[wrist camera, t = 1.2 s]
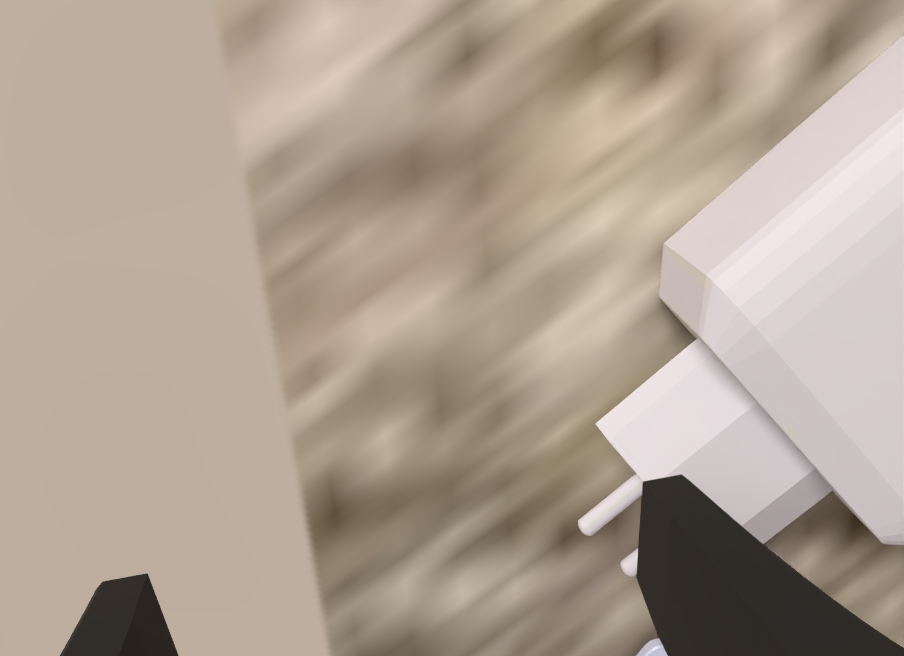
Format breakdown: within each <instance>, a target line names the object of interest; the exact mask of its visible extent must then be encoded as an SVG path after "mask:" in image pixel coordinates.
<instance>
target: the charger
mask: <svg viewBox="0 0 904 656" xmlns="http://www.w3.org/2000/svg"><path fill="white" fill-rule="evenodd" d="M659 297H660V299H661V300H662V301H663V302H664V303H665V304H666V306H667V307H668V308H669V309H670V310H671V311H672V312H673V314H674V315H675V316H676V317H677V318H678V319H679V320H680V321H681V323H682V324H683V325H684V326H685V327H686V328H687V329H688V331H689V332H690V333H691V334H692V335H693V336H694V337H695V338H696V340H695V341H694V342H692V343H691V344H690V345H689V346H688V347H686V348H685V349H684V350H683V351H682V352H680V353H679V354H678V355H677V356H676V357H674V358H673V359H672V360H671V361H670V362H668V363H667V364H666V365H665V366H664V367H662V368H661V369H660V370H659V371H658V372H657V373H655V374H654V375H653V376H652V377H651V378H649V379H648V380H647V381H646V382H645V383H643V384H642V385H641V386H640V387H639V388H637V389H636V390H635V391H634V392H633V393H631V394H630V395H629V396H628V397H627V398H625V399H624V400H623V401H622V402H621V403H620V404H618V405H617V406H616V407H615V408H614V409H612V410H611V411H610V412H609V413H608V414H606V415H605V416H604V417H603V418H602V419H600V420H599V421H598V422H597V423H596V425H597V426H598V428H599V429H600V430H601V432H602V433H603V434H604V436H605V437H606V438H607V439H608V441H609V442H610V443H611V444H612V445H613V447H614V448H615V449H616V450H617V451H618V452H619V454H620V455H621V456H622V457H623V458H624V459H625V461H626V462H627V463H628V464H629V465H630V466H631V468H632V469H633V470H634V471H635V472H636V474H635V475H633V476H632V477H631V478H630V479H628V480H627V481H626V482H625V483H624V484H622V485H621V486H620V487H619V488H617V489H616V490H615V491H614V492H612V493H611V494H610V495H609V496H608V497H606V498H605V499H604V500H603V501H601V502H600V503H599V504H598V505H597V506H595V507H594V508H593V509H592V510H590V511H589V512H588V513H587V514H586V515H584V516H583V517H582V518H581V519H579V520H578V526H579V528H580V530H581V531H582V533H583V534H585V535H588V536H592V535H593V534H594V533H596V532H597V531H598V530H599V529H601V528H602V527H603V526H604V525H606V524H607V523H608V522H609V521H611V520H612V519H613V518H614V517H615V516H617V515H618V514H619V513H620V512H622V511H623V510H624V509H625V508H627V507H628V506H629V505H630V504H632V503H633V502H634V501H635V500H637V499H638V498H639V497H640V496H641V495H642V485H643V481H649V480H654V479H659V478H665V477H670V476H676V475H681V474H682V475H683V476H685V477H686V478H687V479H688V480H690V481H691V482H692V483H693V484H694V485H695V486H696V487H698V488H699V489H700V490H701V491H702V492H703V493H704V494H706V495H707V496H708V497H709V498H710V499H711V500H712V501H714V502H715V503H716V504H717V505H718V506H719V507H720V508H722V509H723V510H724V511H725V512H726V513H727V514H728V515H730V516H731V517H732V518H733V519H734V520H735V521H737V522H738V523H739V524H740V525H741V526H742V527H744V528H745V529H746V530H747V531H748V532H749V533H751V534H752V535H753V536H754V537H755V538H756V539H758V540H759V541H760V542H761V543H762V544H764V543H765V542H767V541H768V540H769V539H771V538H772V537H773V536H774V535H776V534H777V533H778V532H780V531H781V530H782V529H784V528H785V527H786V526H787V525H789V524H790V523H791V522H793V521H794V520H795V519H796V518H798V517H799V516H800V515H802V514H803V513H804V512H806V511H807V510H808V509H809V508H811V507H812V506H813V505H815V504H816V503H817V502H819V501H820V500H821V499H822V498H824V497H825V496H826V495H828V494H829V493H830V492H833V493H834V494H835V495H836V496H837V497H838V498H839V499H840V500H841V501H842V502H843V503H844V504H845V505H846V506H847V507H848V508H849V509H850V510H851V511H852V513H853V514H854V515H855V516H856V517H857V518H858V519H859V520H860V521H861V522H862V523H863V524H864V525H865V526H866V527H867V528H868V529H869V530H870V531H871V532H872V533H873V534H874V535H875V536H876V537H877V538H878V540H879V541H880V542H881V543H882V544H889V545H904V34H903V35H902V36H901V37H900V38H899V39H898V40H897V41H895V42H894V43H893V44H892V45H891V46H890V47H889V48H887V49H886V50H885V51H884V52H883V53H882V54H881V55H879V56H878V57H877V58H876V59H875V60H874V61H872V62H871V63H870V64H869V65H868V66H867V67H866V68H864V69H863V70H862V71H861V72H860V73H859V74H858V75H856V76H855V77H854V78H853V79H852V80H851V81H849V82H848V83H847V84H846V85H845V86H844V87H843V88H841V89H840V90H839V91H838V92H837V93H836V94H835V95H833V96H832V97H831V98H830V99H829V100H828V101H827V102H825V103H824V104H823V105H822V106H821V107H820V108H818V109H817V110H816V111H815V112H814V113H813V114H812V115H810V116H809V117H808V118H807V119H806V120H805V121H804V122H802V123H801V124H800V125H799V126H798V127H797V128H796V129H794V130H793V131H792V132H791V133H790V134H789V135H787V136H786V137H785V138H784V139H783V140H782V141H781V142H779V143H778V144H777V145H776V146H775V147H774V148H773V149H771V150H770V151H769V152H768V153H767V154H766V155H765V156H763V157H762V158H761V159H760V160H759V161H758V162H756V163H755V164H754V165H753V166H752V167H751V168H750V169H748V170H747V171H746V172H745V173H744V174H743V175H742V176H740V177H739V178H738V179H737V180H736V181H735V182H733V183H732V184H731V185H730V186H729V187H728V188H727V189H725V190H724V191H723V192H722V193H721V194H720V195H719V196H717V197H716V198H715V199H714V200H713V201H712V202H711V203H709V204H708V205H707V206H706V207H705V208H704V209H702V210H701V211H700V212H699V213H698V214H697V215H696V216H694V217H693V218H692V219H691V220H690V221H689V222H688V223H686V224H685V225H684V226H683V227H682V228H681V229H680V230H678V231H677V232H676V233H675V234H674V235H673V236H671V237H670V238H669V239H668V240H667V241H666V242H665V243H663V253H662V264H661V275H660V285H659ZM637 560H638V548H637V549H636V550H635V551H634V552H632V553H631V554H630V555H628V556H627V557H626V558H625V559H623V560H622V561H621V568H622V570H623V572H624V573H625V574H626V575H627V576H629V577H634V576H636V575H637Z"/></svg>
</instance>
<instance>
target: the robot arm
mask: <svg viewBox="0 0 904 656" xmlns="http://www.w3.org/2000/svg"><path fill="white" fill-rule="evenodd" d="M636 577H637V580H638V583H639V585H640V588H641V591H642V594H643V596H644V599H645V602H646V605H647V607H648V610H649V613H650V616H651V618H652V621H653V623H654V626H655V629H656V631H657V634H658V636H659V638H658V639H654V640H651V641H649V642H648V643H647V644H646V645H645V646H644V647H643V648H642V649H641V651H640V652H639V653H638V654H637V656H904V648H903V647H901V646H900V645H898V644H896V643H895V642H893V641H892V640H890V639H889V638H887V637H886V636H884V635H883V634H881V633H880V632H878V631H877V630H875V629H874V628H873V627H871V626H870V625H868V624H867V623H865V622H864V621H862V620H861V619H860V618H858V617H857V616H855V615H854V614H853V613H851V612H850V611H849V610H847V609H846V608H844V607H843V606H842V605H840V604H839V603H838V602H836V601H835V600H833V599H832V598H831V597H829V596H828V595H827V594H825V593H824V592H823V591H822V590H820V589H819V588H818V587H816V586H815V585H814V584H812V583H811V582H810V581H808V580H807V579H806V578H805V577H803V576H802V575H801V574H800V573H798V572H797V571H796V570H795V569H793V568H792V567H791V566H790V565H788V564H787V563H786V562H785V561H783V560H782V559H781V558H780V557H778V556H777V555H776V554H775V553H773V552H772V551H771V550H770V549H768V548H767V547H766V546H765V545H764V544H762V543H761V542H760V541H759V540H758V539H756V538H755V537H754V536H753V535H752V534H751V533H749V532H748V531H747V530H746V529H745V528H744V527H742V526H741V525H740V524H739V523H738V522H737V521H735V520H734V519H733V518H732V517H731V516H730V515H728V514H727V513H726V512H725V511H724V510H723V509H722V508H720V507H719V506H718V505H717V504H716V503H715V502H714V501H712V500H711V499H710V498H709V497H708V496H707V495H706V494H704V493H703V492H702V491H701V490H700V489H699V488H698V487H696V486H695V485H694V484H693V483H692V482H691V481H690V480H688V479H687V478H686V477H685V476H683V475H682V474H681V475H676V476H670V477H665V478H659V479H654V480H649V481H643V485H642V500H641V515H640V530H639V545H638V560H637V575H636ZM60 656H178V653H177V651H176V648H175V645H174V643H173V640H172V637H171V635H170V632H169V629H168V627H167V624H166V622H165V619H164V616H163V613H162V611H161V608H160V605H159V603H158V600H157V598H156V595H155V593H154V590H153V587H152V584H151V582H150V579H149V576H148V574H142V575H136V576H131V577H126V578H120V579H115V580H109V581H105V582H102V583H101V585H99V587H98V588H97V589H96V591H95V593H94V595H93V597H92V598H91V600H90V602H89V604H88V606H87V608H86V610H85V611H84V613H83V615H82V617H81V619H80V621H79V622H78V624H77V626H76V628H75V630H74V632H73V633H72V635H71V637H70V639H69V641H68V642H67V644H66V646H65V648H64V650H63V651H62V653H61V655H60Z"/></svg>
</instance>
